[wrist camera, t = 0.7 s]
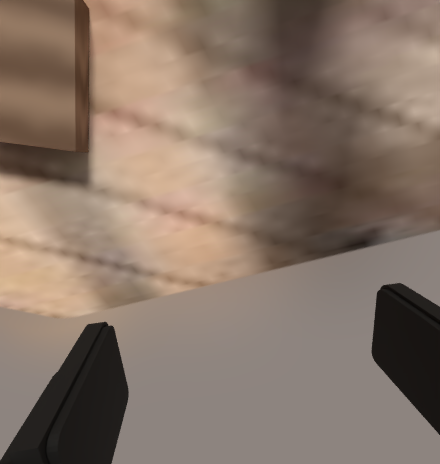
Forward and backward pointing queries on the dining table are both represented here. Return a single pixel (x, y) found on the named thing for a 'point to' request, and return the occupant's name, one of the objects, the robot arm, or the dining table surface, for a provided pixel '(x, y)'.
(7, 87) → the walnut block
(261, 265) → the dining table surface
